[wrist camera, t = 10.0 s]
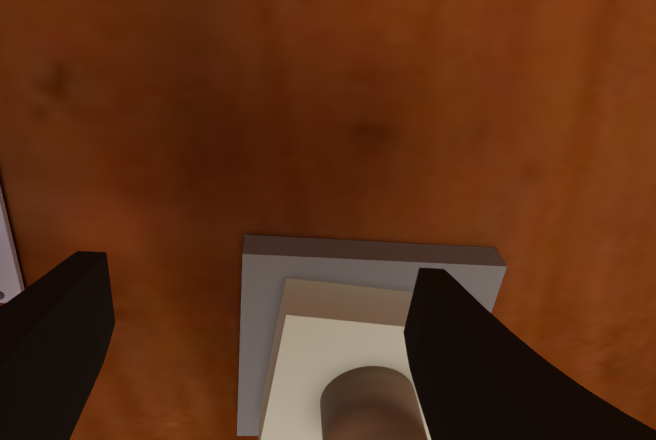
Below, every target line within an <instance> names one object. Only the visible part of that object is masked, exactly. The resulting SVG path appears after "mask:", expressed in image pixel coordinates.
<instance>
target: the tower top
mask: <svg viewBox="0 0 656 440" xmlns="http://www.w3.org/2000/svg"><path fill="white" fill-rule="evenodd" d="M412 295H413V292H407V291H398V290H390V289H381V288H372V287H364V286H355V285H346V284H337V283H329V282H320V281H311V280H302V279H293V278H286V279H285V284H284V289H283V294H282V300H281V305H280V310H279V315H278V320H277V325H276V330H275V335H274V340H273V346H272V351H271V356H270V361H269V366H268V371H267V376H266V381H265V386H264V392H263V397H262V402H261V407H260V412H259V430H258V440H322V426H321V411H320V399H321V395H322V393H323V391H324V389H325V387H326V386H327V385H328V384H329V383H330V382H331V381H332V380H333V379H334V378H336V377H337V376H339V375H340V374H342V373H344V372H346V371H349V370H352V369H355V368H359V367H365V366H381V367H387V368H391V369H394V370H396V371H398V372H400V373H402V374H403V375H404V376H406V377H407V378H408V379H409V380H410V382H411V383H412V385H413V387H414V391H415V395H416V398H417V402H418V406H419V409H420V413H421V417H422V420H423V424H424V428H425V431H426V435H427V439H428V440H431V437H430V434H429V431H428V427H427V424H426V421H425V418H424V415H423V412H422V408H421V405H420V402H419V399H418V395H417V392H416V389H415V386H414V382H413V379H412V376H411V372H410V368H409V363H408V357H407V352H406V345H405V339H404V333H403V332H404V328H405V323H406V319H407V315H408V311H409V307H410V303H411V299H412Z"/></svg>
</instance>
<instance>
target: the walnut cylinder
mask: <svg viewBox="0 0 656 440" xmlns="http://www.w3.org/2000/svg"><path fill="white" fill-rule="evenodd" d="M320 411H321V426H322V440H428V439H427V435H426V431H425V428H424V424H423V420H422V417H421V413H420V409H419V406H418V402H417V398H416V395H415V391H414V387H413V385H412V383H411V382H410V380H409V379H408V378H407V377H406V376H404V375H403V374H402V373H400V372H398V371H396V370H394V369H391V368H387V367H381V366H365V367H359V368H355V369H352V370H349V371H346V372H344V373H342V374H340V375H339V376H337V377H336V378H334V379H333V380H332V381H331V382H330V383H329V384H328V385H327V386H326V387H325V389H324V391H323V393H322V395H321V399H320Z"/></svg>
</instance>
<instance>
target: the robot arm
mask: <svg viewBox="0 0 656 440" xmlns="http://www.w3.org/2000/svg"><path fill="white" fill-rule="evenodd" d="M0 291H1V292H3V293H4V294H1V293H0V303H5V304H4V305H2V306H1V307H0V440H69V439H70V437H71V435H72V432H73V430H74V428H75V426H76V424H77V421H78V419H79V417H80V415H81V412H82V410H83V408H84V406H85V404H86V401H87V399H88V397H89V395H90V392H91V390H92V388H93V386H94V383H95V381H96V379H97V377H98V374H99V372H100V370H101V367H102V365H103V363H104V359H105V356H106V353H107V350H108V346H109V343H110V339H111V336H112V332H113V329H114V325H115V317H114V309H113V302H112V294H111V286H110V278H109V270H108V263H107V255H106V252H85V251H77V252H76V253H74V254H73V255H71V256H70V257H68V258H67V259H66V260H64V261H63V262H61V263H60V264H59V265H57V266H56V267H55V268H53V269H52V270H51V271H49V272H48V273H47V274H45V275H44V276H43V277H41V278H40V279H39V280H37V281H36V282H34V283H33V284H32V285H30V286H29V287H27V288H26V289H24V284H23V280H22V276H21V272H20V267H19V263H18V259H17V255H16V250H15V246H14V242H13V238H12V233H11V229H10V225H9V220H8V216H7V212H6V208H5V203H4V199H3V195H2V191H1V186H0ZM403 333H404V339H405V345H406V352H407V357H408V363H409V368H410V372H411V376H412V379H413V382H414V386H415V389H416V392H417V395H418V399H419V402H420V405H421V408H422V412H423V415H424V418H425V421H426V424H427V427H428V431H429V434H430V437H431V440H656V430H654V429H652V428H650V427H648V426H647V425H645V424H643V423H641V422H640V421H638V420H636V419H634V418H632V417H631V416H629V415H627V414H625V413H624V412H622V411H621V410H619V409H617V408H616V407H614V406H612V405H611V404H609V403H608V402H606V401H604V400H603V399H601V398H599V397H598V396H596V395H595V394H593V393H592V392H590V391H589V390H587V389H586V388H584V387H583V386H581V385H579V384H578V383H577V382H575V381H574V380H572V379H571V378H570V377H568V376H567V375H565V374H564V373H563V372H561V371H560V370H558V369H557V368H556V367H554V366H553V365H551V364H550V363H549V362H548V361H546V360H545V359H544V358H542V357H541V356H540V355H539V354H537V353H536V352H535V351H534V350H532V349H531V348H530V347H529V346H528V345H526V344H525V343H524V342H523V341H522V340H520V339H519V338H518V337H517V336H516V335H514V334H513V333H512V332H511V331H510V330H509V329H508V328H506V327H505V326H504V325H503V324H502V323H501V322H500V321H499V320H498V319H496V318H495V317H494V316H493V315H492V314H491V313H490V312H489V311H488V310H487V309H486V308H485V307H484V306H483V305H482V304H480V303H479V302H478V301H477V300H476V299H475V298H474V297H473V296H472V295H471V294H470V293H469V292H468V291H467V290H466V289H465V288H464V287H463V286H462V285H461V284H460V283H459V282H458V281H457V280H456V279H455V278H453V277H452V276H451V275H450V274H449V273H448V272H447V271H446V270H445V269H438V268H419V270H418V274H417V278H416V283H415V287H414V291H413V295H412V299H411V303H410V307H409V311H408V315H407V319H406V323H405V328H404V332H403Z"/></svg>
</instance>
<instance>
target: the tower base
mask: <svg viewBox="0 0 656 440" xmlns="http://www.w3.org/2000/svg"><path fill="white" fill-rule="evenodd" d="M419 268H438V269H445V270H446V271H447V272H448V273H449V274H450V275H451V276H452V277H453V278H455V279H456V280H457V281H458V282H459V283H460V284H461V285H462V286H463V287H464V288H465V289H466V290H467V291H468V292H469V293H470V294H471V295H472V296H473V297H474V298H475V299H476V300H477V301H478V302H479V303H480V304H482V305H483V306H484V307H485V308H486V309H487V310H488V311H489V312H490V313H491V312H492V309H493V306H494V303H495V300H496V297H497V295H498V292H499V289H500V286H501V283H502V280H503V277H504V274H505V271H506V269H507V266H506V264H505V262H504V261H503V259H502V258H501V256H500V255H499V253H498V252H497V250H496V249H495V248H492V247H473V246H454V245H435V244H416V243H397V242H378V241H359V240H340V239H320V238H301V237H282V236H263V235H245V238H244V246H243V254H242V286H241V319H240V352H239V386H238V419H237V436H258V430H259V412H260V407H261V402H262V397H263V392H264V386H265V381H266V376H267V371H268V366H269V361H270V356H271V351H272V346H273V340H274V335H275V330H276V325H277V320H278V315H279V310H280V305H281V300H282V294H283V289H284V284H285V279H286V278H293V279H302V280H311V281H320V282H329V283H337V284H346V285H355V286H364V287H372V288H381V289H390V290H398V291H407V292H413V291H414V287H415V283H416V278H417V274H418V270H419Z"/></svg>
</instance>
